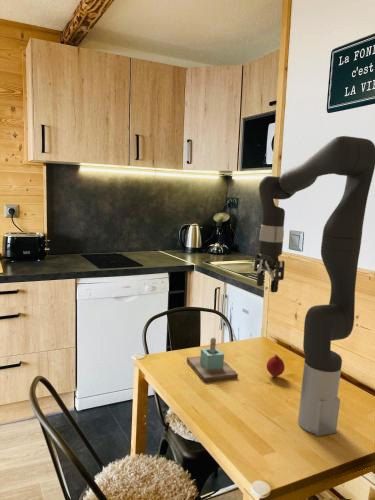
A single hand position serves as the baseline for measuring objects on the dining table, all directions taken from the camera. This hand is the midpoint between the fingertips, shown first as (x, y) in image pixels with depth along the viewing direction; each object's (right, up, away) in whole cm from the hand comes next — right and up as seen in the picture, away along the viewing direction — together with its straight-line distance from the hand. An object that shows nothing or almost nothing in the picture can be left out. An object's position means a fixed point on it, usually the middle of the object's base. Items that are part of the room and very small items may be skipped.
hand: (266, 288), depth 132 cm
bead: (-18, -27, +7) cm, 33 cm away
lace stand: (-18, -28, +7) cm, 34 cm away
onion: (+4, -30, +4) cm, 31 cm away
